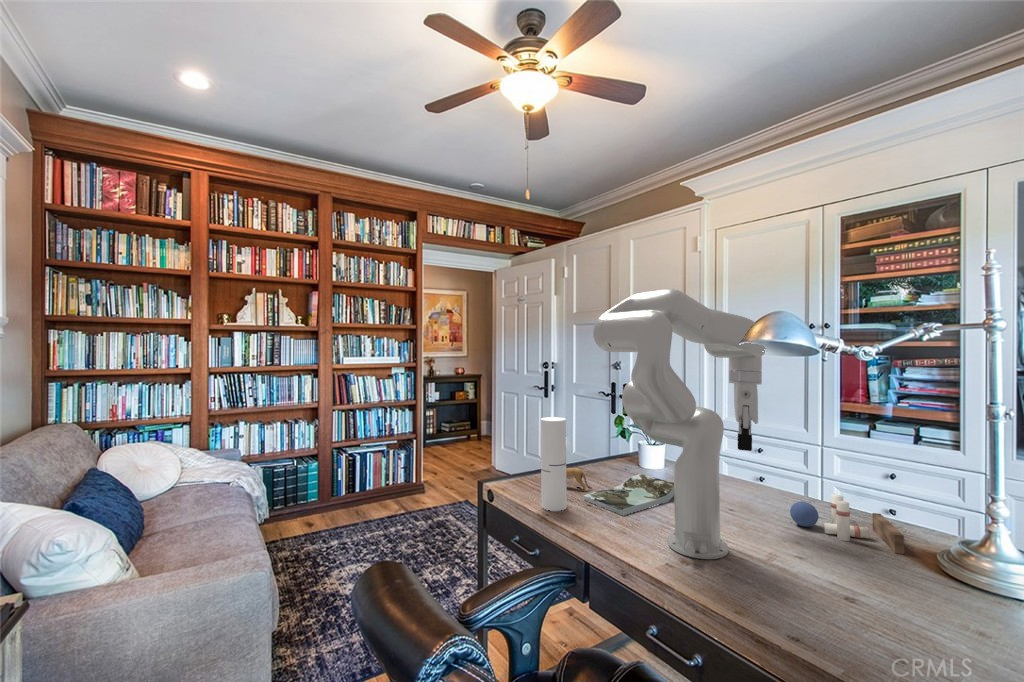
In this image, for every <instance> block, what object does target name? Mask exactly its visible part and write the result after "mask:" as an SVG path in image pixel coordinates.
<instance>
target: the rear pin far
mask: <svg viewBox="0 0 1024 682" xmlns="http://www.w3.org/2000/svg"><path fill="white" fill-rule="evenodd" d="M837 501H844V496H843V495H841V494H837V493H836V494H835V493H834V494H833V493H832V494H830V507H831V511H830V512H831V513H830V514H831V524H837V514H836V509H837Z"/></svg>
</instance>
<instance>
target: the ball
mask: <svg viewBox="0 0 1024 682" xmlns="http://www.w3.org/2000/svg"><path fill="white" fill-rule="evenodd" d="M789 512H790V513H789V515H790V517H791V519H792V520H793V521H794V522H795V523H796V524H797V525H799V526H800V527H804V528H808V527H809V528H810V527H813V526H815V525H816V524H817V522H818V521H819V512H818V510H817V508H816V507H815V506H814V505H812V504H811V503H810V502H808V501H803V500H800V501H796V502H794V503H793V504H792V505H791V507H790V510H789Z"/></svg>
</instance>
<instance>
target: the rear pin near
mask: <svg viewBox="0 0 1024 682" xmlns="http://www.w3.org/2000/svg"><path fill="white" fill-rule="evenodd" d="M836 514H837V536H836V538H837V539H838V540H839V541H842V542H843V541H844V542H850V541H851V536H850V526H851V524H850V523H851V521H850V518H851V511H850V503H849V502H847V501H844V500H843V501H837V509H836Z"/></svg>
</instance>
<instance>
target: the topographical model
mask: <svg viewBox="0 0 1024 682" xmlns="http://www.w3.org/2000/svg"><path fill="white" fill-rule="evenodd" d="M582 496H583V500H584V501H585V500H587V501H589V502H591V503H590V504H592V503H594V504H597V505H599V506H601V507H600V508H602V507H604V508H606V509H605V510H607V509H608V510H607V511H609V510H611V511H610V512H612V511H613V513H614V512H616V513H615V514H617V513H618V514H617V515H619V514H620V516H622V515H623V516H622V517H624V516H627V514H628V515H631V514H634V513H633V512H635V513H638V512H637V511H639V510H642V511H644V510H643V509H646V508H649V507H652V506H654V505H657V504H661V503H663V504H665V502H666V503H667V502H670V501H671V499H672V498H673V497H674V481H669V480H666V479H665V480H664V479H660V478H657V477H652V476H650V475H645V474H644V473H639V474H635V475H631V476H629V477H628V478H626V479H625V480H623V482H622V483H620V484H619V485H617V486H614V487H611V488H606V489H601V490H597V491H594V492H590V493H587V494H584V495H582ZM587 501H586V502H587ZM589 502H588V503H589ZM594 504H593V505H594ZM597 505H596V506H597ZM661 505H662V504H661ZM599 506H598V507H599ZM604 508H603V509H604ZM652 508H653V507H652ZM649 509H650V508H649ZM646 510H647V509H646ZM639 512H640V511H639ZM630 513H631V514H630Z"/></svg>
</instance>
